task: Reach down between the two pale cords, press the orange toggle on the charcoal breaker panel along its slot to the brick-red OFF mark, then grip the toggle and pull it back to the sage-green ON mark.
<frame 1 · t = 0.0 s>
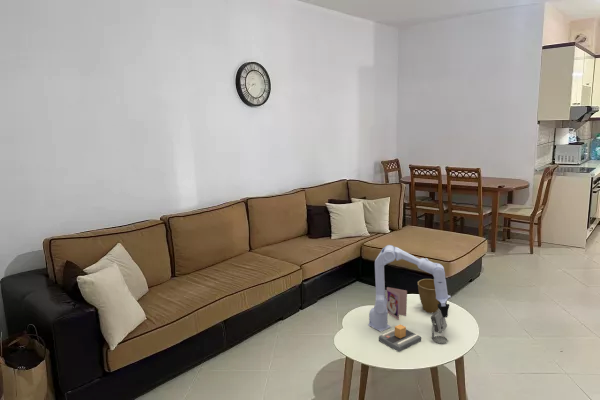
hand: (444, 313, 217), 11 cm above the table, tool pointing down, fingers open, 7 cm apart
pocket watch: (437, 340, 212), on the table
greeting card: (396, 315, 240), on the table
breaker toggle: (400, 331, 211), point 5 cm above the table, slide at 0.0 cm
electrical switch: (438, 329, 223), on the table
breaker panel: (399, 341, 212), on the table
plant pot: (430, 310, 244), on the table
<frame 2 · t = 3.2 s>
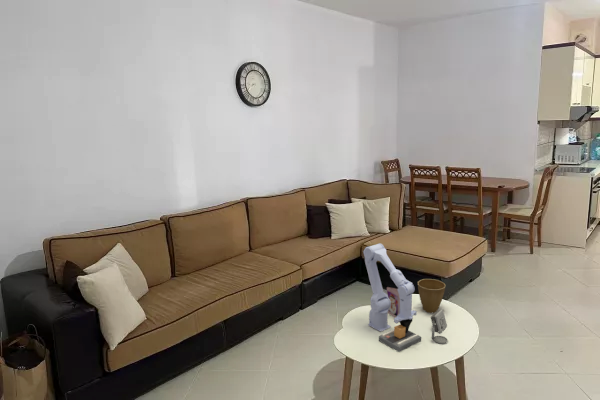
hand: (404, 332, 214), 4 cm above the table, tool pointing down, fingers closed
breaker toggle: (399, 331, 211), point 5 cm above the table, slide at -0.3 cm, touching gripper
everything else where it was.
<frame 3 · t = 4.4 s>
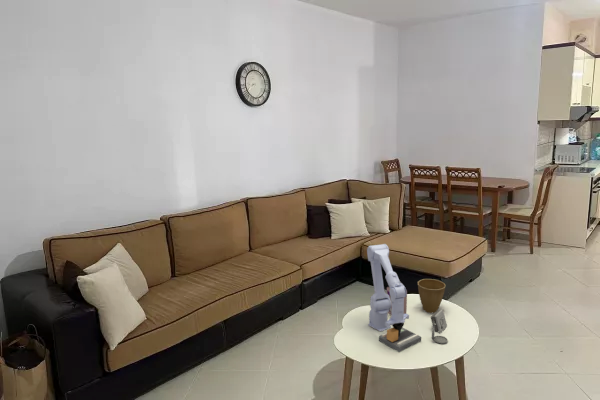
hand: (397, 335, 210), 4 cm above the table, tool pointing down, fingers closed
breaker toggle: (392, 334, 208), point 5 cm above the table, slide at -5.4 cm, touching gripper
everything else where it was.
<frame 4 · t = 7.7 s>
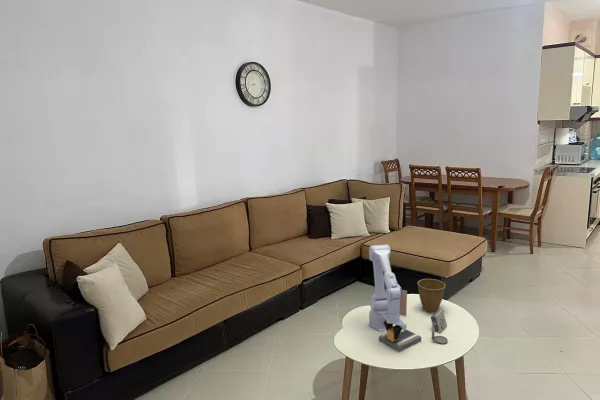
hand: (393, 336, 209), 4 cm above the table, tool pointing down, fingers closed on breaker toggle, 4 cm apart
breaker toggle: (393, 334, 208), point 5 cm above the table, slide at -5.0 cm, touching gripper
everything else where it was.
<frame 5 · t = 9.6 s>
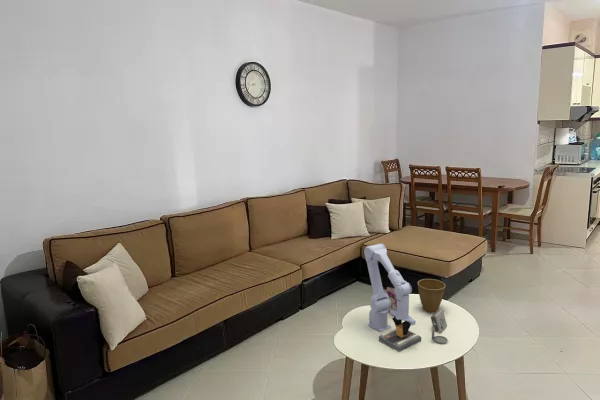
hand: (402, 332, 212), 4 cm above the table, tool pointing down, fingers closed on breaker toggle, 4 cm apart
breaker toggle: (401, 330, 212), point 5 cm above the table, slide at 1.3 cm, touching gripper
everything else where it was.
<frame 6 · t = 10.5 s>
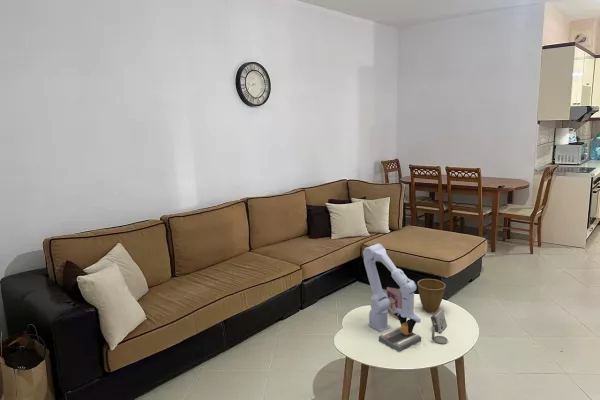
hand: (407, 330, 214), 4 cm above the table, tool pointing down, fingers closed on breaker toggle, 4 cm apart
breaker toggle: (406, 328, 214), point 5 cm above the table, slide at 4.9 cm, touching gripper
everything else where it was.
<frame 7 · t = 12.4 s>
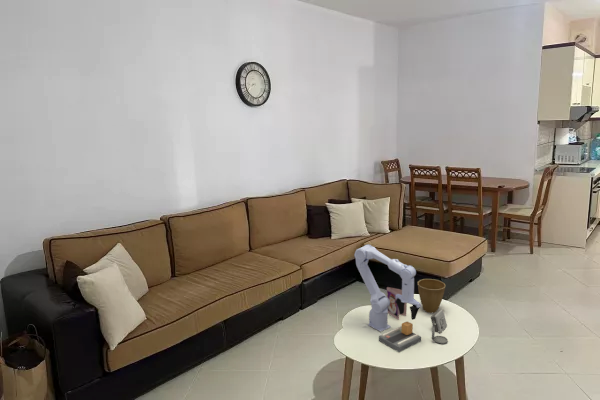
hand: (407, 316, 216), 10 cm above the table, tool pointing down, fingers open, 7 cm apart
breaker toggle: (407, 328, 214), point 5 cm above the table, slide at 5.0 cm
everything else where it was.
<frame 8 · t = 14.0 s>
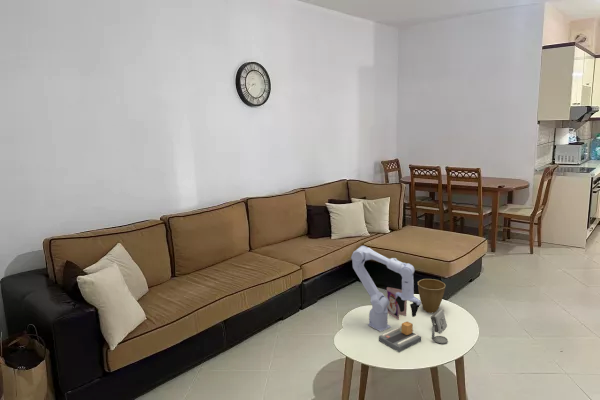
hand: (408, 313, 218), 10 cm above the table, tool pointing down, fingers open, 7 cm apart
nothing on the table moved.
at the end: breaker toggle slide at 5.0 cm; the gripper is holding nothing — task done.
